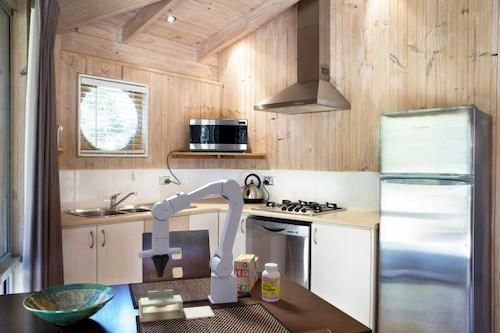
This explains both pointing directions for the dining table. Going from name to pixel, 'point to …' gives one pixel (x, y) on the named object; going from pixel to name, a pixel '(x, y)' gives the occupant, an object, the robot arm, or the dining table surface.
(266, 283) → the supplement bottle
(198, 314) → the tile
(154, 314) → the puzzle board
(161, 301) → the sliding cover
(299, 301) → the dining table surface
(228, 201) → the robot arm
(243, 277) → the printed cardboard box
